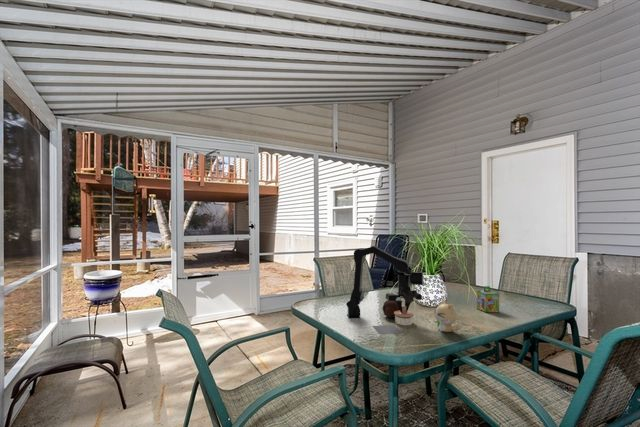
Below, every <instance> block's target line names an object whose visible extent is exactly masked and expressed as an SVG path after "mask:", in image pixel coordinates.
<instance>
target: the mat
mask: <svg viewBox="0 0 640 427" xmlns="http://www.w3.org/2000/svg"><path fill="white" fill-rule="evenodd" d="M372 328H373V329H374V330H375V332H377V333H378V334H379V335H391V334H392V335H394V334H404V333H403V331H401V329H399V328H398V327H397V326H396V325H395V324H386V325H382V324H381V325H372Z"/></svg>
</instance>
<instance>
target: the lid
mask: <svg viewBox="0 0 640 427" xmlns="http://www.w3.org/2000/svg"><path fill="white" fill-rule="evenodd" d="M394 314H395V315H396V316H399V317H412V316H413V317H414V315H415V313H414V312H413V311H411V310H408V311H407V312H406V306H405V304H404V305H403V304H402V313H401V312H400V310H396V311H394Z"/></svg>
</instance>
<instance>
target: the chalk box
mask: <svg viewBox="0 0 640 427" xmlns="http://www.w3.org/2000/svg"><path fill="white" fill-rule="evenodd" d="M487 289H488V290H487ZM478 309H479V310H478ZM476 310H478V311H481V310H482V311H481V312H483V313H486V312H493V313H497V312H496V311H499V312H500V293H498V292H495V291H492V290H491V287H490V286H489V285H488V286H486V285H485V286H483V290H476Z"/></svg>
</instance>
